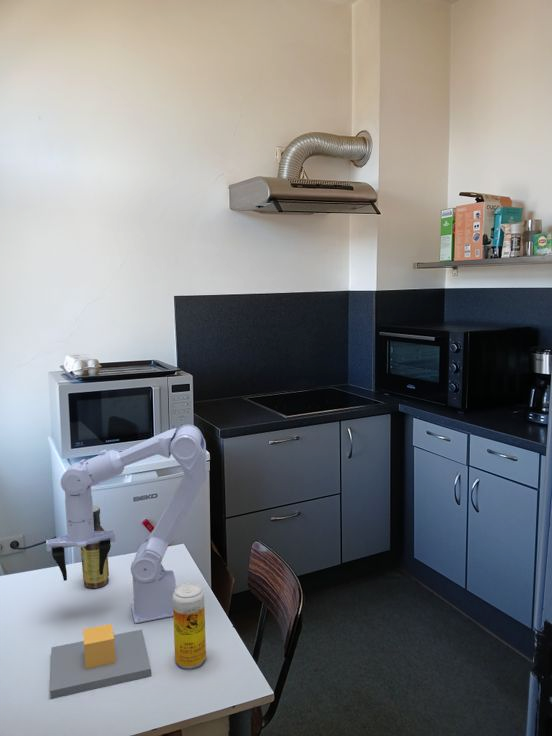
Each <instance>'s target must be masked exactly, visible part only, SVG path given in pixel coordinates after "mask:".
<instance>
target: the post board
mask: <svg viewBox="0 0 552 736" xmlns="http://www.w3.org/2000/svg"><path fill="white" fill-rule="evenodd" d="M113 635H114V647H115V663H111V664H107V665H102V666H97V667H93V668H88V669H86V667H85V652H84V640H81V641H77V642H72V643H67V644H62V645H58V646H51V651H50V652H51V653H50V683H49V686H50V687H49V693H50V694H49V695H50V699H55V698H60V697H63V696H68V695H73V694H76V693H77V694H78V693H81V692H86V691H90V690H95V689H100V688H104V687H109V686H112V685H117V684H123V683H126V682H131V681H136V680H139V679H144V678H148V677H151V676H152V666H151V663H150V658H149V654H148V651H147V645H146V642H145V638H144V637H145V636H144V632H143V629H137V630H131V631H127V632H122V633H117V634H113Z"/></svg>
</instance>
